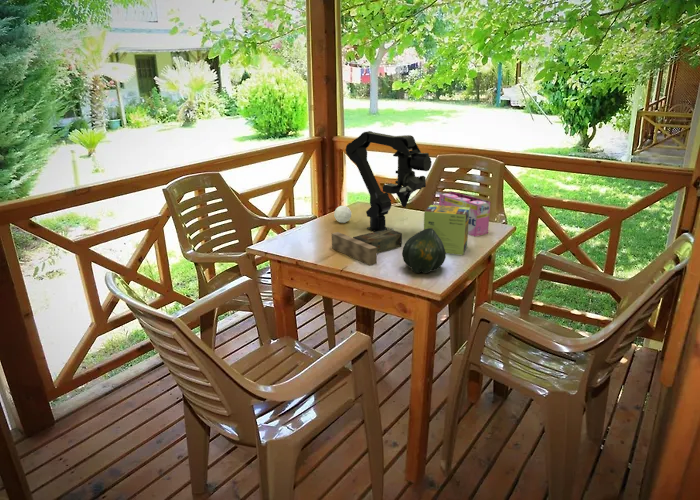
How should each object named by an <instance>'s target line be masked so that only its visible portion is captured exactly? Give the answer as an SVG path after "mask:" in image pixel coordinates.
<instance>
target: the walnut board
mask: <svg viewBox="0 0 700 500" xmlns="http://www.w3.org/2000/svg"><path fill="white" fill-rule="evenodd" d="M331 249H333V250H335V251H338V252H339V253H341V254H344V255H346V256H349V257H350V256H351V258H353V259H355V260H357V261H360V262H362V263H364V264H365V265H368V266H372V265H375V264H377V261H378V260H377V259H378V258H377V254H378V253H377V247H375V246H372V245H370V244H367V243H365V242H362V241H360V240H357V239H355V238H353V237H352V236H350V235H348V234H344V233H341V232H339V231H336V232H332V233H331Z"/></svg>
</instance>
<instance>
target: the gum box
mask: <svg viewBox="0 0 700 500" xmlns="http://www.w3.org/2000/svg"><path fill="white" fill-rule="evenodd" d="M438 198H439V203H438V205H440V206H454V207H469V208H470V210H469V225H468V236H469V235H470V236H473V237H478V236H479V237H480V236H483V235H486V234H487V235H488V234H489V223H490V214H491V213H490V212H491V201H489V200H485V199H482V198H477V197H474V196H470V195H467V194H463V193H459V192H455V191H448V193H439V197H438Z"/></svg>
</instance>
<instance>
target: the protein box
mask: <svg viewBox="0 0 700 500" xmlns="http://www.w3.org/2000/svg"><path fill="white" fill-rule="evenodd" d="M469 210H470V208H469V207H454V206H440V205H439V204H438V205H437V204H430V205H428V206H427V208H426V209H425V210H424V214H423V215H424V216H423V230H425V229H428V228H433V230H434V231H435V232H436V234H437V235H438V237H439V238H440V239H441V241H442V242H443V245H444V248H445V253H446V254H450V255H457V256H458V255H460V256H464V255H465V252H466V249H467V248H468V240H469V239H468V238H469V237H468V236H469V234H468V225H469Z"/></svg>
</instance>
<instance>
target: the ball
mask: <svg viewBox="0 0 700 500" xmlns="http://www.w3.org/2000/svg"><path fill="white" fill-rule="evenodd" d="M333 215H334V216H333V217H334V218H335V220H336V221H337V222H339V223H341V224H342V223H343V224H346V223H347V222H348V221H350V219H352V211H351V209H350V208H349V207H348V206H347V205H339V206H338V207H336V208H335V210H334V214H333Z"/></svg>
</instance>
